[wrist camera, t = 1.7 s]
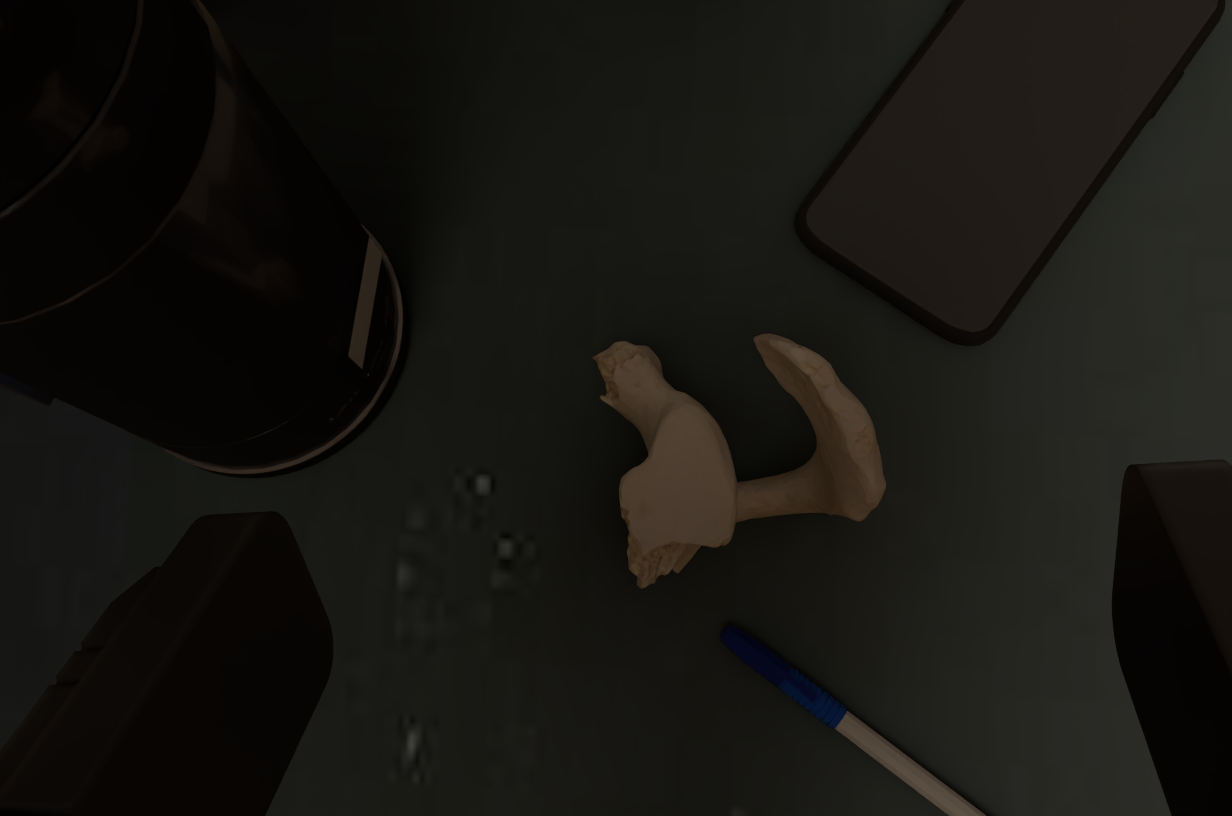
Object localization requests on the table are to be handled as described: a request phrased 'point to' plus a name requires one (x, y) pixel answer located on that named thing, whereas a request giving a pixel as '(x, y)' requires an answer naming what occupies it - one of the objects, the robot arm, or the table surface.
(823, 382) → the bone
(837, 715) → the ballpoint pen
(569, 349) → the table surface
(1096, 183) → the smartphone
